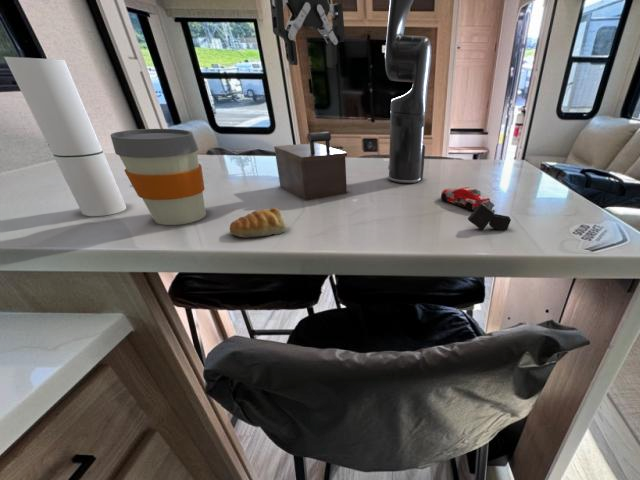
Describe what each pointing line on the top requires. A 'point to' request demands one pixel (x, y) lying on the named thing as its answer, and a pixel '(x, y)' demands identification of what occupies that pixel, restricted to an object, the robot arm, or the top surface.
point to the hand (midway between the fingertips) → (313, 66)
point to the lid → (312, 148)
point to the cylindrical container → (68, 133)
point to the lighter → (488, 217)
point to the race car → (465, 197)
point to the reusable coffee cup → (164, 172)
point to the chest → (312, 176)
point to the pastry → (259, 224)
